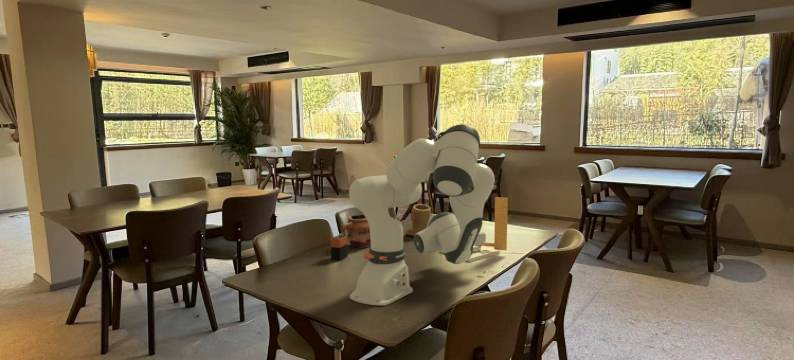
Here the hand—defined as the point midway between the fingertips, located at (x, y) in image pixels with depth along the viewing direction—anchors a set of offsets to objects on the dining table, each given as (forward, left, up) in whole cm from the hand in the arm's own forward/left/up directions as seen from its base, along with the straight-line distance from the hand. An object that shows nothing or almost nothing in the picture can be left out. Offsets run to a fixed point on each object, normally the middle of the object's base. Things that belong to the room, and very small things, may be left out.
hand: (475, 231), depth 181 cm
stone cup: (+34, +39, -14) cm, 53 cm away
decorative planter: (+2, +55, -14) cm, 57 cm away
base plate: (+13, +7, -13) cm, 20 cm away
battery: (-17, +53, -14) cm, 57 cm away
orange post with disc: (+14, +2, -12) cm, 18 cm away
